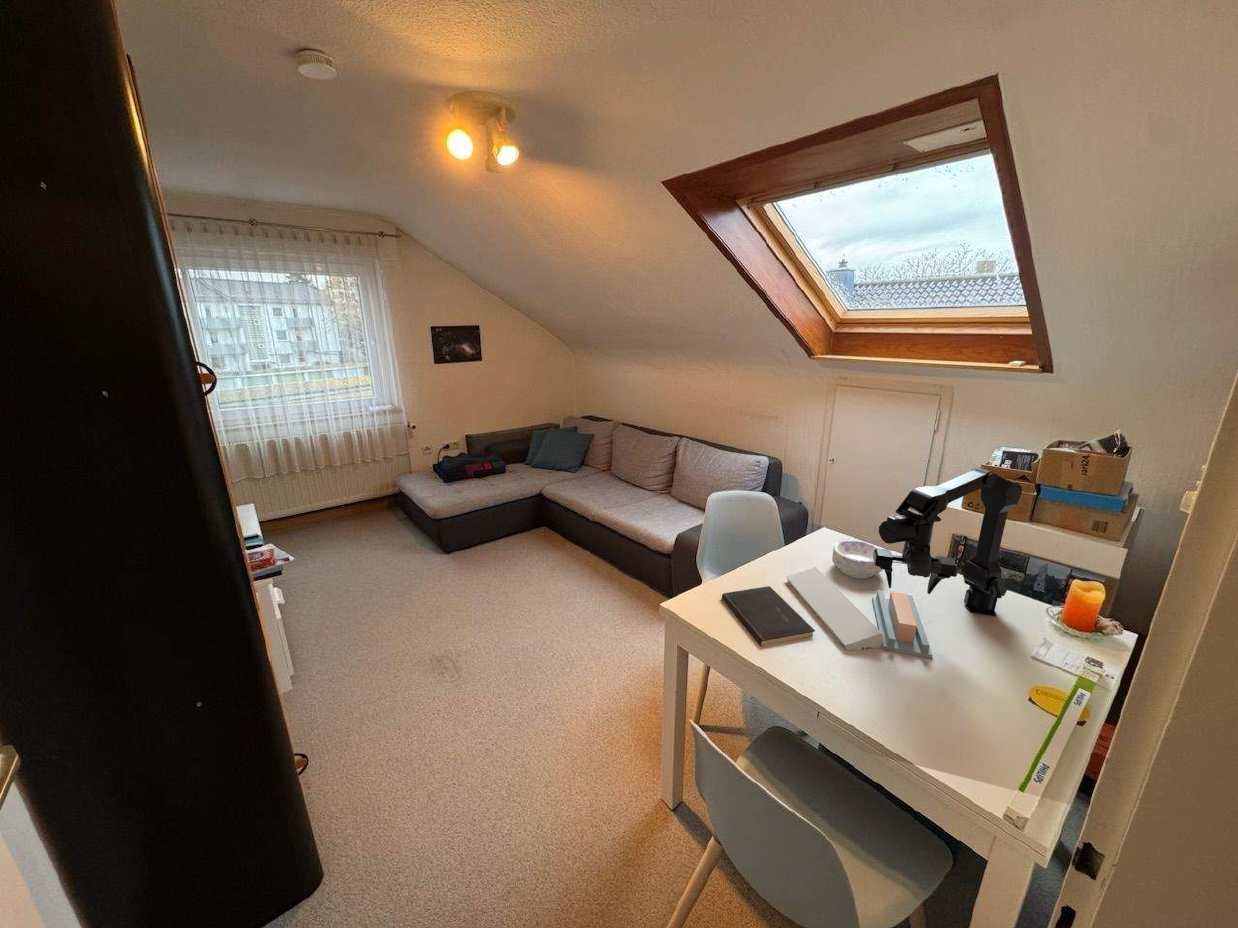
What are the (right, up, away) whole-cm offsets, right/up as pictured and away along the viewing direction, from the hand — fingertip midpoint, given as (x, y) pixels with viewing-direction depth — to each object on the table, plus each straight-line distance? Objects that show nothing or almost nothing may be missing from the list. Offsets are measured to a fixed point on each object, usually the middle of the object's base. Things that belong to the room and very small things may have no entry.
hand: (908, 590), depth 134 cm
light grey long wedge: (-17, -9, +10) cm, 22 cm away
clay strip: (-1, -10, +2) cm, 10 cm away
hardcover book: (-36, -10, +8) cm, 38 cm away
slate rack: (-1, -10, +3) cm, 11 cm away
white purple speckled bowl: (+1, -2, +31) cm, 31 cm away
